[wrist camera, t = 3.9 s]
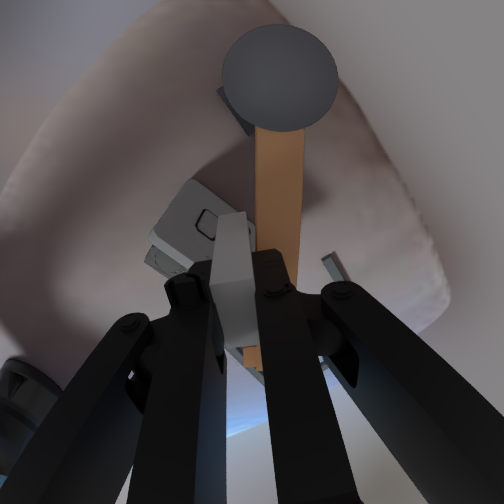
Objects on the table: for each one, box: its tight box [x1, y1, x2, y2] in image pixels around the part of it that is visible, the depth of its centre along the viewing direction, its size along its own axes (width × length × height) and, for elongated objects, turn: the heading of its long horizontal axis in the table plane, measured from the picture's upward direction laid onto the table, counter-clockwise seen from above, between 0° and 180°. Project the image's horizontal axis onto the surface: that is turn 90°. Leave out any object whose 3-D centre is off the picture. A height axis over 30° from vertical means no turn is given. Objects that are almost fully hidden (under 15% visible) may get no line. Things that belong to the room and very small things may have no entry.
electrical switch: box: [144, 179, 255, 279], centre depth 26 cm, size 9×5×9 cm, turn 50°
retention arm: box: [222, 24, 338, 371], centre depth 14 cm, size 17×4×4 cm, turn 0°
